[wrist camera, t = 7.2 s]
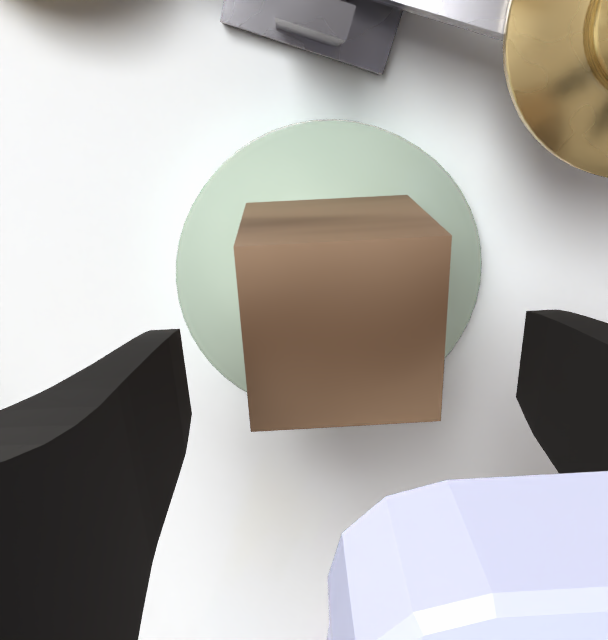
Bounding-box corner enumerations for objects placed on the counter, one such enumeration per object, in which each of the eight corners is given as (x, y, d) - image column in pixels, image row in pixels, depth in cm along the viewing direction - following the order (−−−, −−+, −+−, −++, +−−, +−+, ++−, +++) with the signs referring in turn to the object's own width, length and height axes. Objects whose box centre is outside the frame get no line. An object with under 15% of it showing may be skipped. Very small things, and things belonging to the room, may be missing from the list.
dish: (518, 170, 17) (532, 176, 16) (411, 422, 20) (417, 438, 19) (218, 76, 15) (214, 76, 14) (156, 362, 19) (149, 376, 18)
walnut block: (402, 340, 18) (440, 420, 13) (258, 348, 17) (250, 431, 13) (407, 194, 16) (452, 235, 12) (246, 203, 16) (233, 246, 12)
